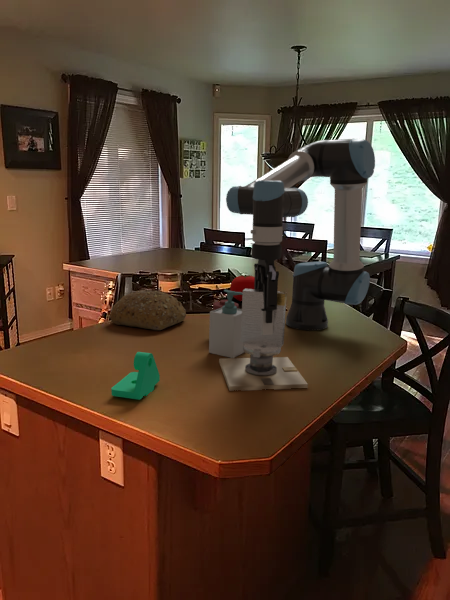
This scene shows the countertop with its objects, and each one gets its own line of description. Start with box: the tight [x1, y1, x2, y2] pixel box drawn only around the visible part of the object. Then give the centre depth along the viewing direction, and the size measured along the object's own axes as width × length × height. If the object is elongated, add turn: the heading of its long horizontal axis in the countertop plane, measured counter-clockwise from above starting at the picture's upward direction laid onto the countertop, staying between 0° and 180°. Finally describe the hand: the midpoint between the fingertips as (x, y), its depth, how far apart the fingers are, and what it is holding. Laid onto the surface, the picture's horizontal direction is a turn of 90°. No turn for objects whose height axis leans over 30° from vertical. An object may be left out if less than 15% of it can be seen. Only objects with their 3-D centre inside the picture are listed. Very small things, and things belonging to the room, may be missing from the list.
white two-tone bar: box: [241, 288, 288, 357], centre depth 132 cm, size 13×11×16 cm
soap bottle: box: [208, 289, 245, 358], centre depth 151 cm, size 9×9×19 cm
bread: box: [109, 288, 187, 331], centre depth 180 cm, size 24×21×12 cm
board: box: [218, 356, 309, 392], centre depth 135 cm, size 20×20×2 cm
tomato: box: [229, 274, 255, 302], centre depth 218 cm, size 13×14×12 cm
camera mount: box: [110, 351, 161, 401], centre depth 122 cm, size 12×8×10 cm, turn 165°
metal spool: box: [245, 354, 277, 376], centre depth 135 cm, size 8×8×6 cm
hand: (264, 330), depth 133 cm, fingers closed on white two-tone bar, 5 cm apart
